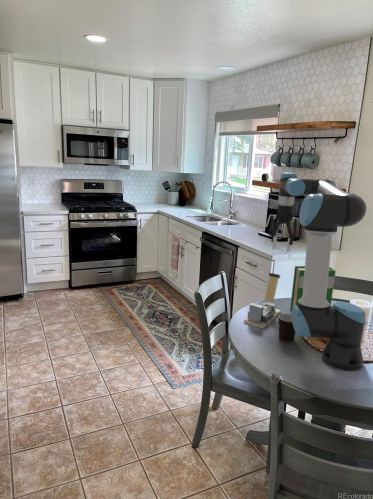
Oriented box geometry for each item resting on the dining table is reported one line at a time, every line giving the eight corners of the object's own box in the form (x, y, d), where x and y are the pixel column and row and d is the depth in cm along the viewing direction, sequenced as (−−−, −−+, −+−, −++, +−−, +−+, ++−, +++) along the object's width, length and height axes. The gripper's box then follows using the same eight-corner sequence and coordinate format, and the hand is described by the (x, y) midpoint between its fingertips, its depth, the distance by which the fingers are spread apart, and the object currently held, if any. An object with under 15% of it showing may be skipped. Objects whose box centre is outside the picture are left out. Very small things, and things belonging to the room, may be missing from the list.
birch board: (263, 328, 177) (264, 325, 177) (243, 322, 182) (244, 319, 182) (280, 312, 195) (280, 310, 195) (262, 308, 200) (262, 305, 200)
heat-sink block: (263, 324, 177) (265, 308, 175) (245, 319, 182) (246, 303, 180) (278, 311, 193) (279, 296, 191) (261, 307, 198) (262, 292, 196)
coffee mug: (291, 345, 162) (294, 323, 160) (272, 339, 167) (275, 317, 165) (302, 335, 171) (304, 315, 169) (283, 330, 176) (285, 309, 174)
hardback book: (295, 316, 192) (300, 270, 186) (290, 310, 199) (295, 265, 193) (329, 316, 193) (335, 270, 187) (322, 310, 200) (328, 266, 194)
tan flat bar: (273, 302, 190) (279, 274, 191) (263, 299, 193) (269, 272, 193) (274, 302, 192) (280, 275, 193) (265, 300, 195) (271, 273, 195)
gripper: (308, 206, 187) (302, 251, 193) (269, 201, 197) (265, 245, 203) (303, 207, 181) (298, 254, 186) (263, 203, 191) (260, 248, 197)
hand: (281, 249), depth 195 cm, fingers open, 7 cm apart
